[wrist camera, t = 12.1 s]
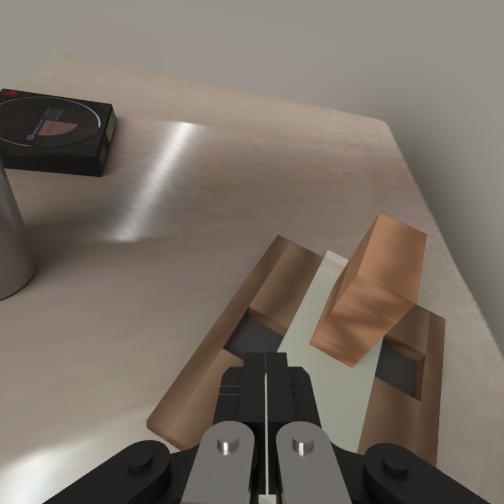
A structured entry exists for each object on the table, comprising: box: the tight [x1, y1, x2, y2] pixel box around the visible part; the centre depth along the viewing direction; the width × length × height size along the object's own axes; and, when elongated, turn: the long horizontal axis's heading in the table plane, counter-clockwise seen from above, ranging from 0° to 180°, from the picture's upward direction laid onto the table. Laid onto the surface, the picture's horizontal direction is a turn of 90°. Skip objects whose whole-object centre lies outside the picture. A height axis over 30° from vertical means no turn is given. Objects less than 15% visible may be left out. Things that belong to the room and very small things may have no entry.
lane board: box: [147, 235, 445, 504], centre depth 35 cm, size 24×28×4 cm
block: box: [309, 213, 427, 368], centre depth 35 cm, size 5×10×12 cm, turn 153°
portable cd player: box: [0, 89, 117, 177], centre depth 53 cm, size 16×17×4 cm
